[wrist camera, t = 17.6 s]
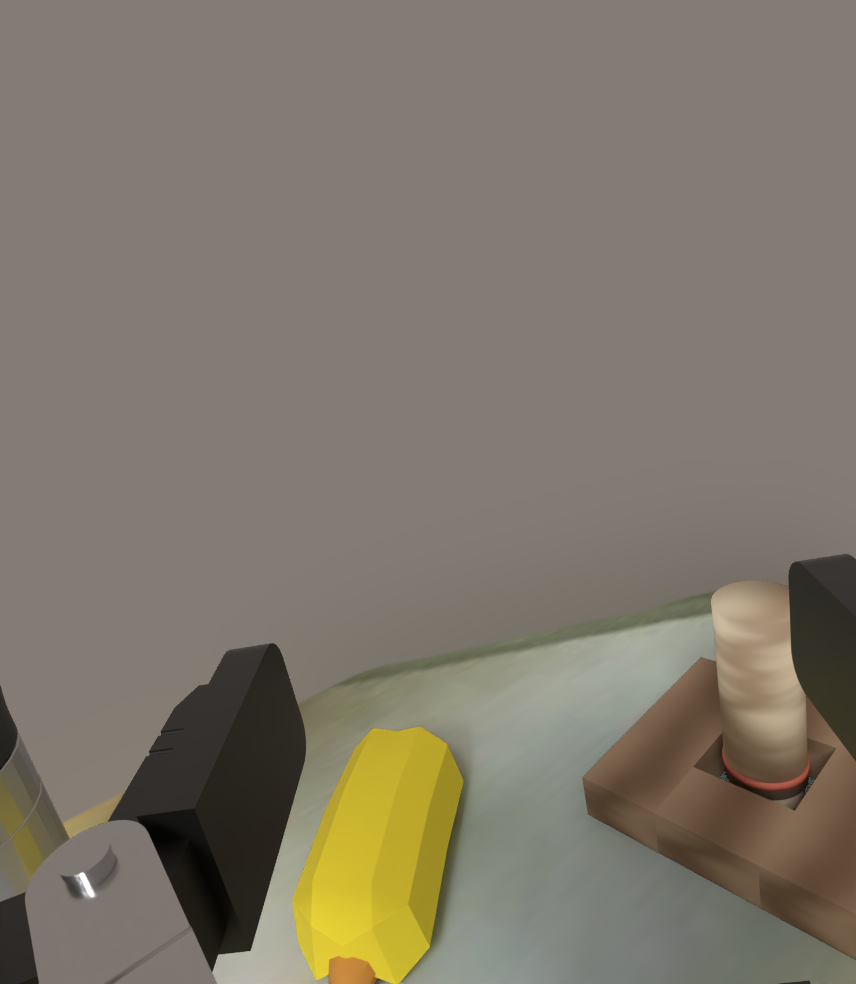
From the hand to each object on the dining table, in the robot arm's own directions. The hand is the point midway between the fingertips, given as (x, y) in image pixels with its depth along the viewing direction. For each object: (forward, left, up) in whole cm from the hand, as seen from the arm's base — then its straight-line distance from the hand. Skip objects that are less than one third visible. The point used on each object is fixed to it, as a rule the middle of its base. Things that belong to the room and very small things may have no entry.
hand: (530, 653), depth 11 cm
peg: (-10, +28, -30) cm, 42 cm away
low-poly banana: (-25, +10, -30) cm, 40 cm away
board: (-10, +28, -30) cm, 42 cm away
